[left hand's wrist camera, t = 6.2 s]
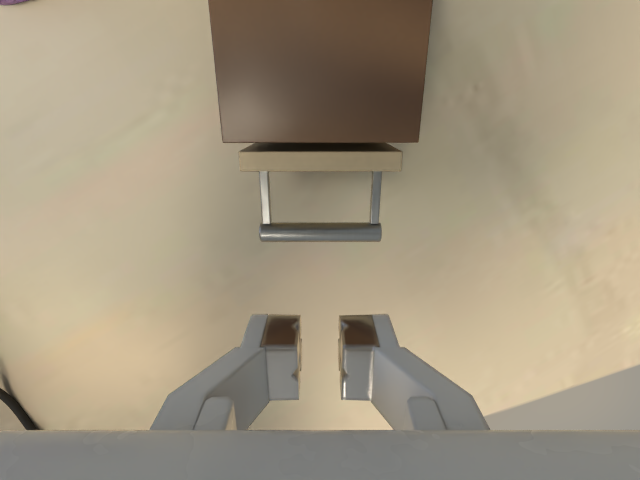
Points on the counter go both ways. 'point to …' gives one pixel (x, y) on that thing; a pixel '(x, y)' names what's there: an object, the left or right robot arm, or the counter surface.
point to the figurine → (10, 2)
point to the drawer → (320, 159)
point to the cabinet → (320, 69)
